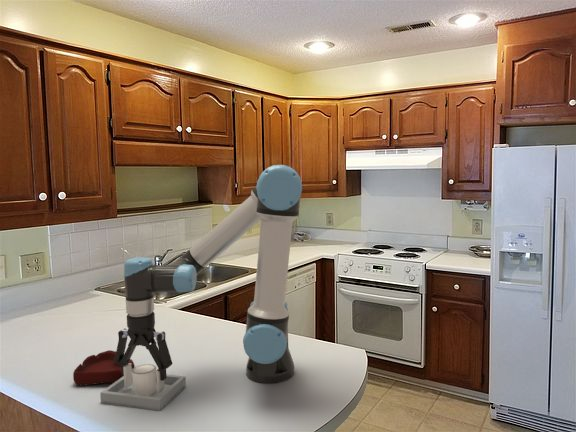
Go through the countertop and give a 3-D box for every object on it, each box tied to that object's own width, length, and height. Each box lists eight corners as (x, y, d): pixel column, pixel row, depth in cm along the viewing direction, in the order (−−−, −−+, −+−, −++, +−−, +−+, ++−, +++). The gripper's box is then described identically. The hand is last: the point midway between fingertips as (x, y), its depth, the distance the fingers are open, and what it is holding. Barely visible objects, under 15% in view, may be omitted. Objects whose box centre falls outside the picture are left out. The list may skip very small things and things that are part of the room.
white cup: (131, 399, 125) (130, 375, 125) (133, 388, 132) (132, 365, 131) (157, 396, 127) (156, 372, 126) (157, 385, 134) (156, 362, 133)
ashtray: (63, 378, 142) (62, 362, 141) (114, 362, 153) (113, 348, 153) (85, 397, 129) (84, 380, 129) (139, 378, 140) (138, 362, 140)
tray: (185, 386, 134) (185, 376, 134) (159, 410, 120) (159, 400, 120) (131, 379, 139) (131, 370, 138) (100, 403, 125) (100, 392, 125)
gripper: (183, 311, 128) (186, 386, 130) (114, 306, 134) (118, 378, 136) (169, 319, 121) (173, 399, 123) (97, 314, 127) (102, 390, 129)
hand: (144, 388), depth 129 cm, fingers open, 10 cm apart
